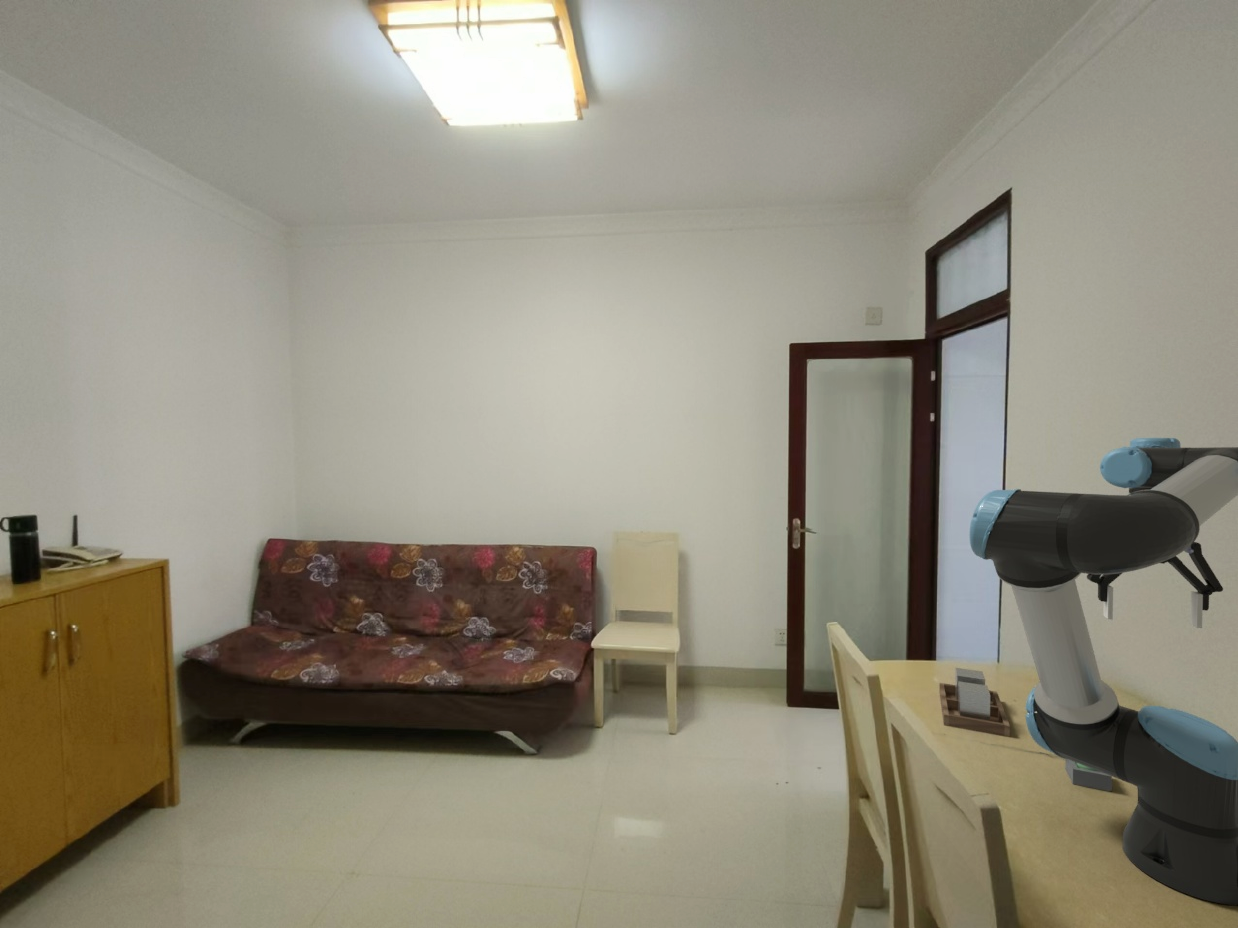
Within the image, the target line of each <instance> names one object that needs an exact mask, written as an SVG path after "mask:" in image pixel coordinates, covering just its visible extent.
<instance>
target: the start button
mask: <svg viewBox="0 0 1238 928" xmlns="http://www.w3.org/2000/svg"><path fill="white" fill-rule="evenodd" d="M1076 765H1077V767H1078V768H1082V769H1088V770H1093V771H1097V770H1094V769H1092V768H1089V767H1087V766H1084V765H1081V764H1079V763H1076ZM1098 772H1100V771H1098Z"/></svg>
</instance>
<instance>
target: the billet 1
mask: <svg viewBox="0 0 1238 928" xmlns="http://www.w3.org/2000/svg"><path fill="white" fill-rule="evenodd" d="M954 670H955V672H954V675H955V678H954V679H955V682H954V683H955V684H954V685H955V699H957V700H958V681H960V682H966V683H973V684H980V685H986V678H985V675H984V673H983V671H982V670H975V669H968V668H960V667H955V669H954Z"/></svg>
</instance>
